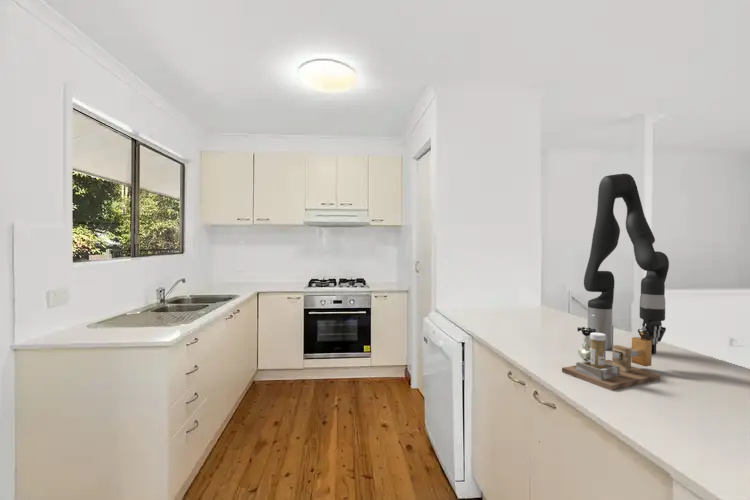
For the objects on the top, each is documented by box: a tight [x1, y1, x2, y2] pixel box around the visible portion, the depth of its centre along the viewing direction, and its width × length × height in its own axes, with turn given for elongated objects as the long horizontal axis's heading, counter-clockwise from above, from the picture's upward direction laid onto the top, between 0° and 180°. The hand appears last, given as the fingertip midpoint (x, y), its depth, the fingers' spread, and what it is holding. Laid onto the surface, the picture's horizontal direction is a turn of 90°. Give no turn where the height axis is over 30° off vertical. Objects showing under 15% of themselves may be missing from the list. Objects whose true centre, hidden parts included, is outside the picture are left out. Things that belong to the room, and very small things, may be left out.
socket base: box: [561, 344, 661, 391], centre depth 129 cm, size 24×18×9 cm
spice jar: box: [590, 333, 607, 369], centre depth 127 cm, size 5×5×14 cm
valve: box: [577, 326, 596, 361], centre depth 148 cm, size 7×7×12 cm
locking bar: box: [613, 336, 652, 367], centre depth 133 cm, size 15×5×9 cm, turn 113°
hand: (651, 353), depth 138 cm, fingers closed
